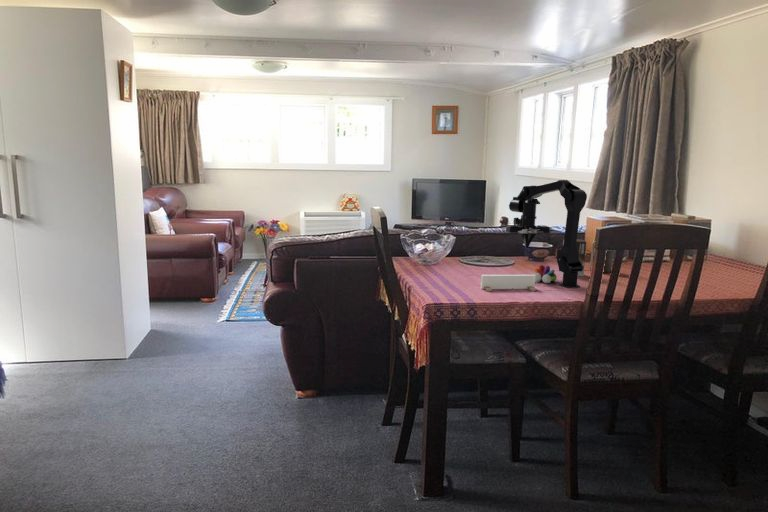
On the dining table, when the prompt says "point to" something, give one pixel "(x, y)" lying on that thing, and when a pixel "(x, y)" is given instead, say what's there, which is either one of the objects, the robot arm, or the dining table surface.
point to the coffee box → (580, 253)
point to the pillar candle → (607, 262)
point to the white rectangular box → (508, 282)
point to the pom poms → (545, 274)
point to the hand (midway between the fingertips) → (526, 247)
